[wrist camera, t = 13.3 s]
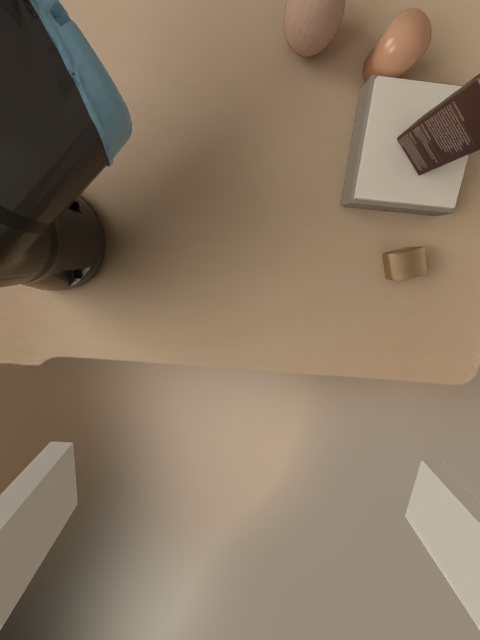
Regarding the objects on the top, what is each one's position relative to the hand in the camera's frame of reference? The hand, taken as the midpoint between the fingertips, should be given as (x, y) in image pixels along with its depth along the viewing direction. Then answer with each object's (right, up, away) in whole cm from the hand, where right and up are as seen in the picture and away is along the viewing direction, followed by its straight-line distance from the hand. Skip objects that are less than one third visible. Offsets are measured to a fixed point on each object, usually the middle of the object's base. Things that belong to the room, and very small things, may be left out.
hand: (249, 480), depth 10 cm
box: (+23, +29, +25) cm, 45 cm away
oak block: (+25, +15, +33) cm, 44 cm away
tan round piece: (+19, +40, +26) cm, 51 cm away
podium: (+23, +30, +29) cm, 48 cm away
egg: (+8, +43, +25) cm, 50 cm away
